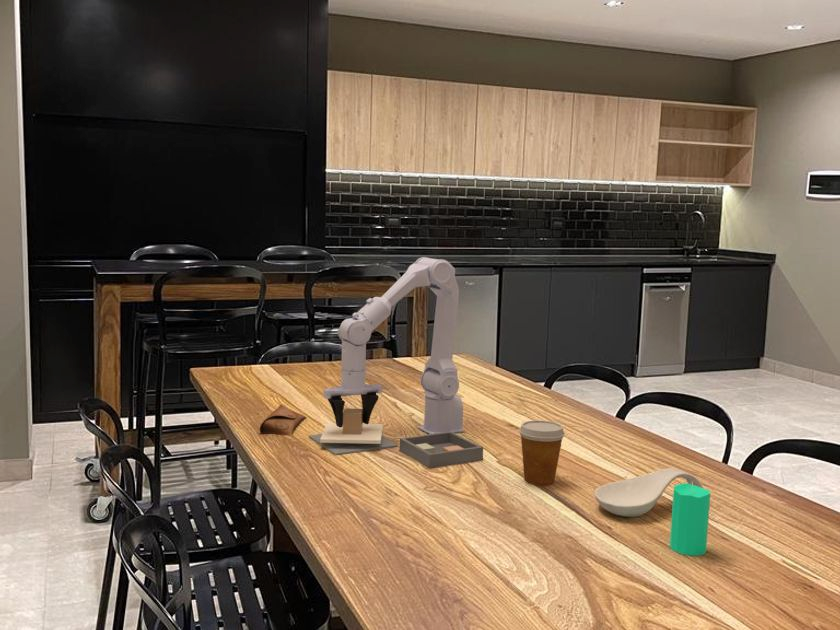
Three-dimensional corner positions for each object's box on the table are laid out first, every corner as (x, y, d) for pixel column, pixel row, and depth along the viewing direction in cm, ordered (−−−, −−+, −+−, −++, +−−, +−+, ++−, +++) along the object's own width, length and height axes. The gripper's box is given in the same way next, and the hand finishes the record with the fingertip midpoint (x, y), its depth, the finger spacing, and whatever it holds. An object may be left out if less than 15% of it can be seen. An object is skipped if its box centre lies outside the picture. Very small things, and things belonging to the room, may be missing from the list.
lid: (383, 427, 207) (383, 404, 206) (380, 443, 193) (381, 419, 192) (326, 426, 207) (326, 403, 206) (320, 442, 193) (320, 418, 192)
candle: (664, 541, 146) (668, 475, 144) (697, 541, 146) (702, 475, 145) (677, 555, 140) (682, 487, 138) (712, 555, 140) (717, 487, 139)
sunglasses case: (293, 435, 204) (280, 411, 203) (269, 448, 205) (255, 425, 204) (308, 416, 222) (295, 395, 221) (285, 429, 223) (272, 407, 222)
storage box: (450, 443, 201) (451, 431, 201) (482, 459, 189) (483, 447, 188) (399, 450, 194) (399, 438, 194) (429, 468, 182) (429, 454, 182)
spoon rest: (618, 527, 152) (621, 490, 151) (581, 505, 163) (583, 470, 162) (718, 511, 162) (720, 475, 161) (676, 491, 172) (679, 458, 171)
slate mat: (367, 429, 211) (367, 428, 211) (397, 446, 197) (397, 445, 197) (308, 437, 203) (308, 435, 203) (335, 455, 189) (335, 453, 189)
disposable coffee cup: (565, 477, 179) (568, 422, 177) (557, 491, 170) (560, 434, 168) (521, 471, 182) (524, 417, 180) (512, 484, 173) (514, 428, 171)
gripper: (373, 363, 205) (372, 417, 207) (318, 368, 198) (318, 423, 199) (386, 369, 199) (385, 424, 201) (330, 374, 192) (329, 431, 193)
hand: (352, 424), depth 200 cm, fingers closed on lid, 6 cm apart
